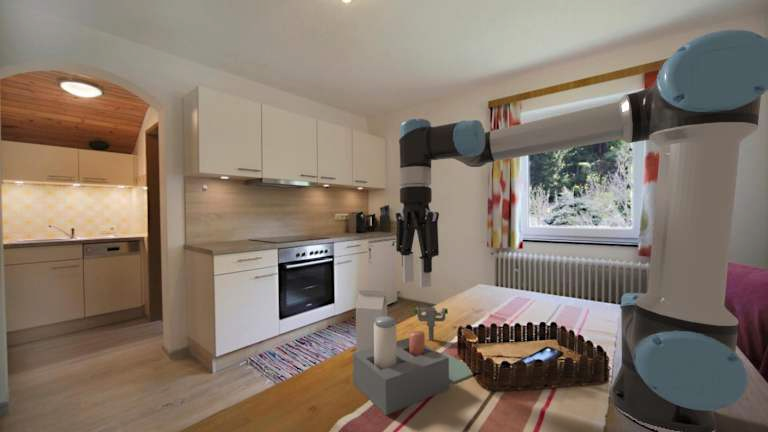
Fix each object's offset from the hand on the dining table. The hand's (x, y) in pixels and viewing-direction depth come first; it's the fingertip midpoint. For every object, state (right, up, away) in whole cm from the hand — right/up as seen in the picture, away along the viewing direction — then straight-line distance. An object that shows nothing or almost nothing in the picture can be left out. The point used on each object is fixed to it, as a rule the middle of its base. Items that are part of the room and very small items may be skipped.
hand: (416, 283), depth 73 cm
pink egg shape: (0, -19, 0) cm, 19 cm away
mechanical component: (+7, -23, +23) cm, 34 cm away
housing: (-4, -23, -3) cm, 23 cm away
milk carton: (-11, -23, +10) cm, 28 cm away
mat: (+9, -23, +6) cm, 25 cm away
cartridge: (-7, -23, -5) cm, 25 cm away
